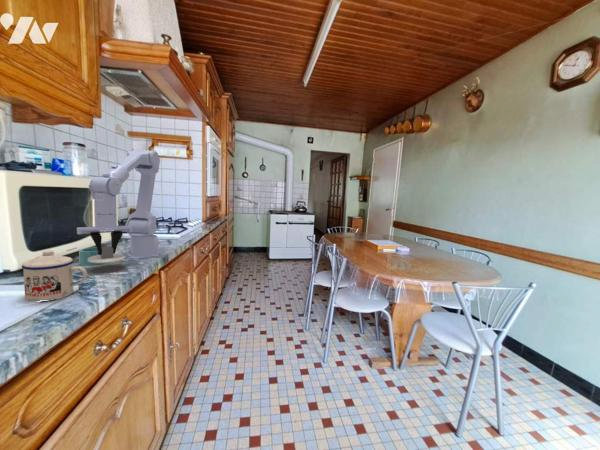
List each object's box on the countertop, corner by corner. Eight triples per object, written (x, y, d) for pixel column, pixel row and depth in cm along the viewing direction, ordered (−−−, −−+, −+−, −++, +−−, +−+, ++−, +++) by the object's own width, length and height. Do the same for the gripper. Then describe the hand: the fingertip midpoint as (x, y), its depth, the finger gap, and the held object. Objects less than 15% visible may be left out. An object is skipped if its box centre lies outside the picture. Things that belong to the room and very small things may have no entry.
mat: (121, 264, 92) (121, 263, 92) (129, 271, 85) (129, 270, 85) (84, 269, 84) (84, 267, 84) (89, 277, 77) (89, 276, 77)
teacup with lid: (14, 305, 57) (10, 256, 56) (36, 290, 66) (34, 247, 64) (80, 300, 62) (78, 254, 61) (93, 287, 70) (92, 246, 69)
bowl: (104, 260, 96) (104, 246, 95) (108, 264, 91) (108, 250, 90) (78, 263, 90) (77, 248, 90) (81, 268, 85) (80, 252, 85)
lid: (121, 254, 91) (120, 243, 91) (128, 260, 85) (128, 248, 84) (85, 257, 84) (85, 246, 84) (90, 264, 77) (89, 252, 77)
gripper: (78, 215, 75) (80, 259, 76) (134, 214, 85) (135, 253, 87) (75, 213, 79) (76, 254, 81) (129, 212, 90) (129, 249, 91)
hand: (106, 253), depth 84 cm, fingers closed on lid, 3 cm apart
